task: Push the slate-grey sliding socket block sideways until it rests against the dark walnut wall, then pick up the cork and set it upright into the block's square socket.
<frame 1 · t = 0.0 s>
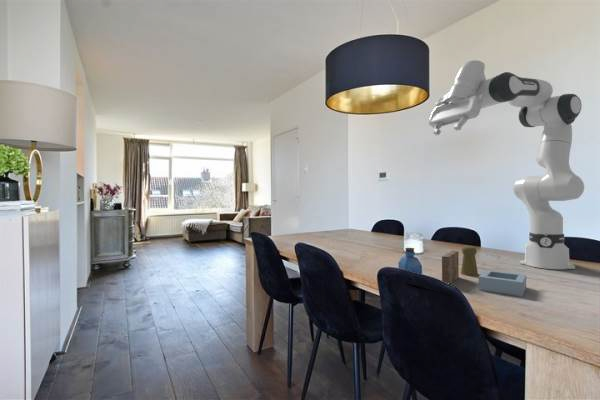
hand: (446, 131, 117), 54 cm above the table, tool tilted 30°, fingers open, 8 cm apart
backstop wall: (450, 280, 118), on the table
cork: (469, 274, 128), on the table
perfume bottle: (410, 281, 119), on the table
socket block: (502, 282, 108), point 2 cm above the table, slide at 9.0 cm
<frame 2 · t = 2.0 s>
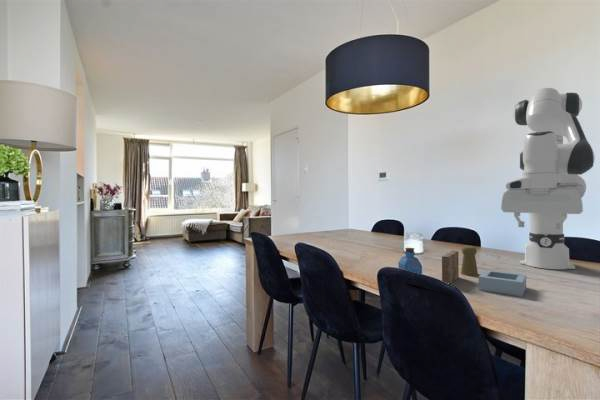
hand: (539, 227, 100), 21 cm above the table, tool pointing down, fingers open, 8 cm apart
nothing on the table moved.
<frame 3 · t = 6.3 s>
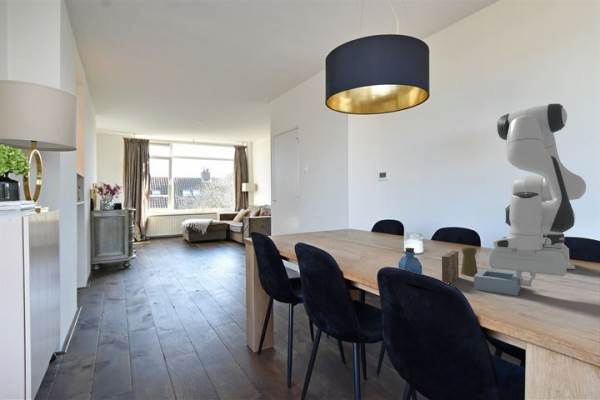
hand: (526, 285, 103), 2 cm above the table, tool pointing down, fingers closed
socket block: (497, 281, 108), point 2 cm above the table, slide at 7.6 cm, touching gripper
everything else where it was.
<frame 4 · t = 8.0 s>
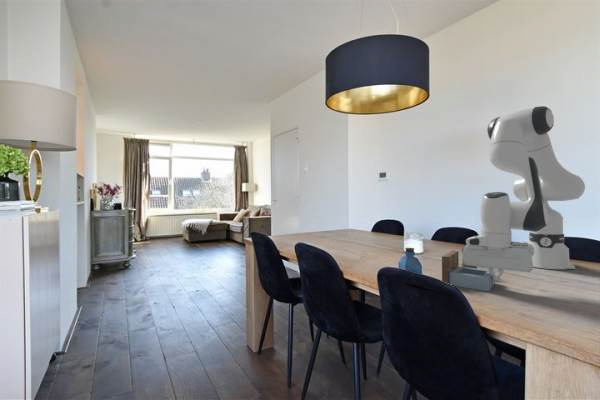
hand: (496, 281, 109), 2 cm above the table, tool pointing down, fingers closed
socket block: (472, 277, 113), point 2 cm above the table, slide at -0.1 cm, touching gripper
everything else where it was.
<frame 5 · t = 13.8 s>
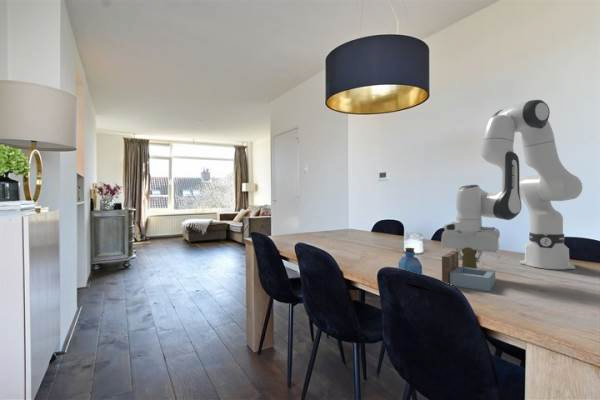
hand: (469, 261, 128), 5 cm above the table, tool pointing down, fingers closed on cork, 4 cm apart
cork: (469, 274, 128), on the table, touching gripper
socket block: (472, 277, 113), point 2 cm above the table, slide at 0.0 cm
everything else where it was.
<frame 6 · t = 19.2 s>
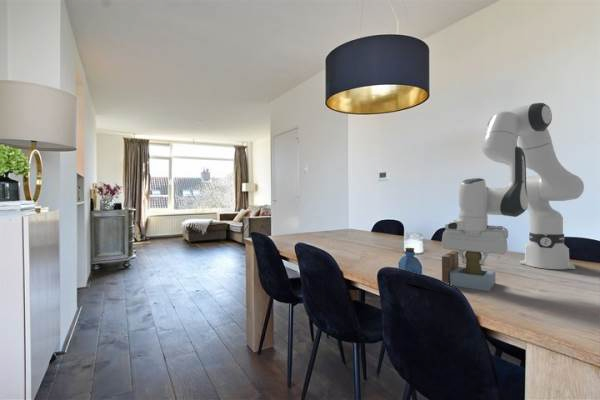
hand: (473, 264, 113), 7 cm above the table, tool pointing down, fingers closed on cork, 4 cm apart
cork: (473, 282, 113), point 1 cm above the table, touching gripper, socket block
socket block: (472, 278, 113), point 2 cm above the table, slide at 0.0 cm, touching cork
everything else where it was.
when the fingers open (7 cm above the table, at t = 19.6 s): cork stays where it is, resting on socket block.
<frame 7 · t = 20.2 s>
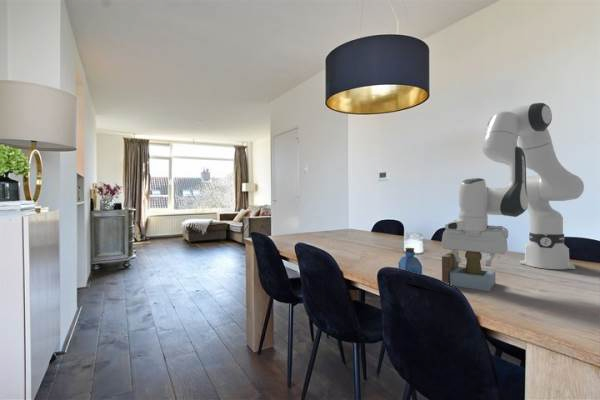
hand: (473, 264, 113), 7 cm above the table, tool pointing down, fingers open, 8 cm apart
cork: (473, 282, 113), point 1 cm above the table, touching socket block
everything else where it was.
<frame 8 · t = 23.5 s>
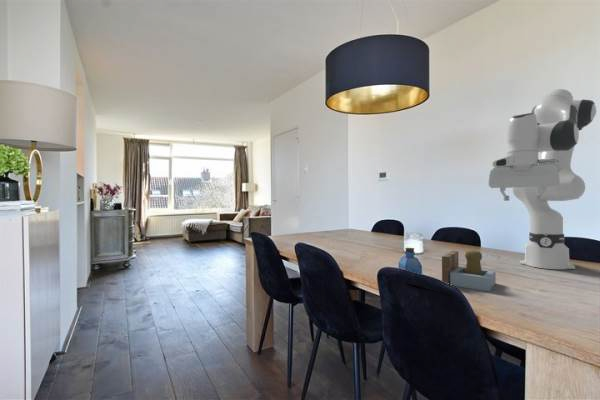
hand: (522, 200, 112), 29 cm above the table, tool pointing down, fingers open, 8 cm apart
nothing on the table moved.
at the end: socket block slide at 0.1 cm; cork 0.2 cm off-centre on the socket block, point 0.6 cm above the socket block's base; cork tilted 0° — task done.
